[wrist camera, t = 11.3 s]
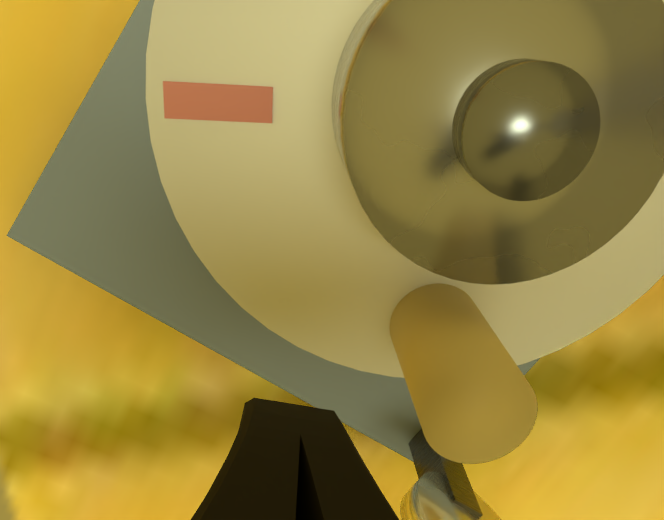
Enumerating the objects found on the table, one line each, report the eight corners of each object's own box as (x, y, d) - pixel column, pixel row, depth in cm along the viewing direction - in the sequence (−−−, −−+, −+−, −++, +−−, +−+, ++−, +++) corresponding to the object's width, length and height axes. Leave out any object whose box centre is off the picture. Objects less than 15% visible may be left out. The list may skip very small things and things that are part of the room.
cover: (632, -40, 13) (763, -64, 9) (574, 238, 15) (662, 303, 12) (338, -59, 12) (360, -92, 9) (325, 233, 15) (338, 299, 11)
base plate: (868, -31, 16) (904, -34, 15) (427, 452, 21) (433, 472, 20) (447, -521, 12) (460, -567, 11) (22, 223, 17) (6, 235, 16)
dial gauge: (471, 433, 21) (553, 612, 14) (453, 453, 21) (525, 636, 15) (390, 385, 20) (440, 555, 14) (372, 406, 20) (413, 582, 14)
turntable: (803, -210, 13) (1127, -354, 8) (642, 354, 19) (779, 480, 13) (141, -279, 12) (34, -504, 7) (170, 348, 17) (123, 485, 12)
